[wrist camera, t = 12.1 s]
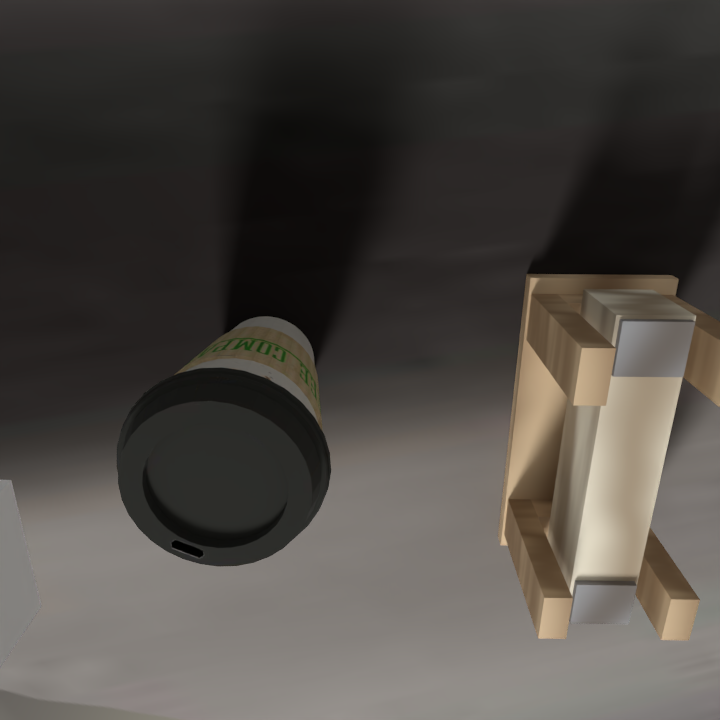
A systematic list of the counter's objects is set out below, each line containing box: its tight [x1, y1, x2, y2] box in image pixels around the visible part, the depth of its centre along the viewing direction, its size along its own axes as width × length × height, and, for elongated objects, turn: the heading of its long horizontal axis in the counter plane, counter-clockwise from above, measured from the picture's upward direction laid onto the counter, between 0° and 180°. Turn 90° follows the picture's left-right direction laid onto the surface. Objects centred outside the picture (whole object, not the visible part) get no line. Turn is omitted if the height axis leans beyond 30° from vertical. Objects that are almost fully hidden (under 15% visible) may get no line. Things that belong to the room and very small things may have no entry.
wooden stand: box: [498, 274, 720, 640], centre depth 37 cm, size 9×20×10 cm, turn 0°
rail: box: [547, 289, 696, 624], centre depth 36 cm, size 4×20×5 cm, turn 0°
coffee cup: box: [117, 316, 331, 566], centre depth 33 cm, size 10×10×15 cm
